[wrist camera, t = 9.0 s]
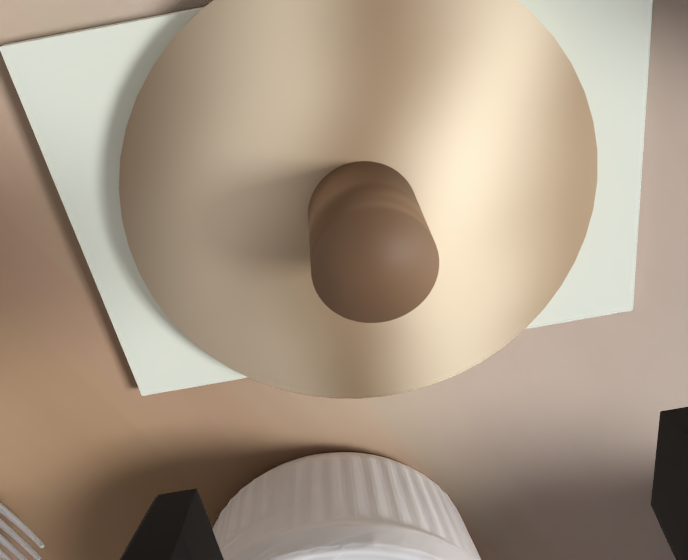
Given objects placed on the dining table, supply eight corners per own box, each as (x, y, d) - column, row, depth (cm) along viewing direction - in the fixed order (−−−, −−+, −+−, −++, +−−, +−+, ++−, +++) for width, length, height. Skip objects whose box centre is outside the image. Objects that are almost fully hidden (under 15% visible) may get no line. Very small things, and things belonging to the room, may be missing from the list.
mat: (650, -78, 16) (657, -77, 16) (627, 303, 21) (632, 310, 21) (5, 44, 16) (-1, 47, 16) (144, 388, 22) (141, 395, 21)
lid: (605, -90, 15) (691, -89, 12) (576, 356, 22) (627, 437, 19) (55, -11, 15) (-10, 11, 12) (188, 411, 22) (169, 501, 19)
